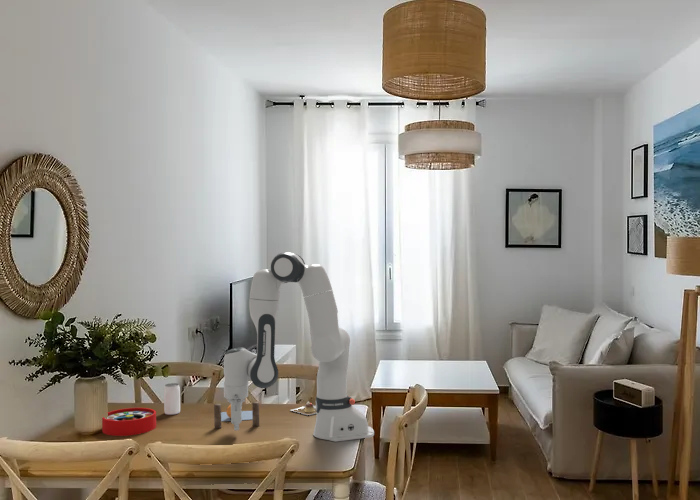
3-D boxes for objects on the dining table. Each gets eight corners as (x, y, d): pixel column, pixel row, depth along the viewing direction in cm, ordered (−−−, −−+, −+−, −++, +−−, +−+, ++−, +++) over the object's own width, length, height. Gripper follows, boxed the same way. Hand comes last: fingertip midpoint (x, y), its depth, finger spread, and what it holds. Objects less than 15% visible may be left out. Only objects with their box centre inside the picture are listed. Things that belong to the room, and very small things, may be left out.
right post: (259, 424, 268) (258, 401, 268) (259, 426, 265) (259, 403, 265) (252, 424, 267) (252, 402, 267) (252, 426, 265) (252, 403, 265)
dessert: (329, 412, 288) (329, 400, 288) (308, 417, 279) (308, 406, 279) (310, 407, 296) (310, 396, 296) (289, 412, 288) (289, 401, 288)
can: (176, 415, 284) (175, 386, 283) (161, 414, 285) (161, 386, 285) (182, 411, 290) (182, 383, 290) (168, 410, 291) (168, 382, 291)
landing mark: (254, 410, 289) (254, 410, 289) (254, 419, 275) (254, 419, 275) (220, 412, 287) (220, 412, 287) (219, 421, 273) (219, 421, 273)
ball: (242, 406, 275) (242, 420, 276) (240, 400, 280) (240, 414, 281) (227, 407, 273) (227, 421, 274) (225, 401, 279) (225, 415, 280)
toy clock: (161, 416, 261) (106, 423, 252) (161, 431, 261) (106, 439, 252) (150, 405, 279) (98, 411, 269) (150, 419, 279) (98, 426, 269)
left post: (221, 426, 265) (221, 403, 265) (221, 428, 263) (220, 405, 263) (214, 427, 265) (214, 404, 265) (214, 428, 262) (213, 405, 262)
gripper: (244, 398, 242) (245, 436, 242) (244, 385, 262) (245, 421, 263) (226, 399, 241) (227, 437, 241) (227, 386, 261) (228, 422, 262)
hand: (236, 429), depth 252 cm, fingers closed
